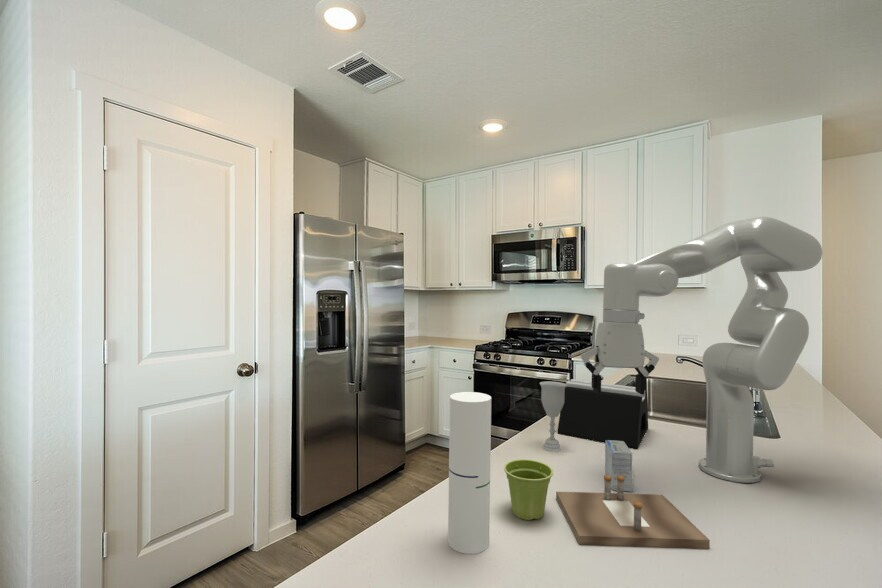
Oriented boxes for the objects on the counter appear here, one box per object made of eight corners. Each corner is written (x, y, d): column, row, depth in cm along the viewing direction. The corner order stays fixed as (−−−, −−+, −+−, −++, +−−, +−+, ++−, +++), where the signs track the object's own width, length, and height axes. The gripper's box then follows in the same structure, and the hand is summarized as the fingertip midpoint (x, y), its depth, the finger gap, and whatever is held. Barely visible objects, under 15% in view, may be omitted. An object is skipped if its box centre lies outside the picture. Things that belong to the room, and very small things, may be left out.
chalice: (536, 450, 114) (537, 385, 114) (540, 442, 121) (541, 380, 121) (564, 454, 112) (565, 387, 112) (566, 446, 118) (567, 382, 118)
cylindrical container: (446, 529, 75) (448, 392, 75) (484, 528, 76) (486, 391, 76) (450, 554, 68) (452, 402, 68) (493, 553, 69) (495, 402, 69)
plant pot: (543, 531, 75) (544, 483, 75) (495, 516, 80) (496, 471, 80) (558, 509, 83) (559, 466, 83) (514, 496, 88) (514, 455, 88)
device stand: (577, 417, 147) (578, 375, 147) (648, 429, 135) (648, 383, 135) (557, 434, 128) (558, 386, 128) (637, 450, 116) (637, 397, 116)
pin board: (662, 501, 87) (662, 472, 87) (709, 548, 71) (709, 512, 71) (556, 498, 87) (556, 469, 87) (579, 544, 71) (579, 509, 71)
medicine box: (632, 492, 90) (633, 453, 90) (611, 490, 91) (611, 451, 91) (624, 477, 98) (624, 440, 98) (604, 475, 99) (604, 439, 99)
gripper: (651, 317, 98) (649, 390, 98) (577, 315, 99) (575, 387, 99) (667, 319, 91) (665, 397, 91) (587, 317, 92) (585, 394, 92)
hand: (618, 392), depth 95 cm, fingers open, 9 cm apart
